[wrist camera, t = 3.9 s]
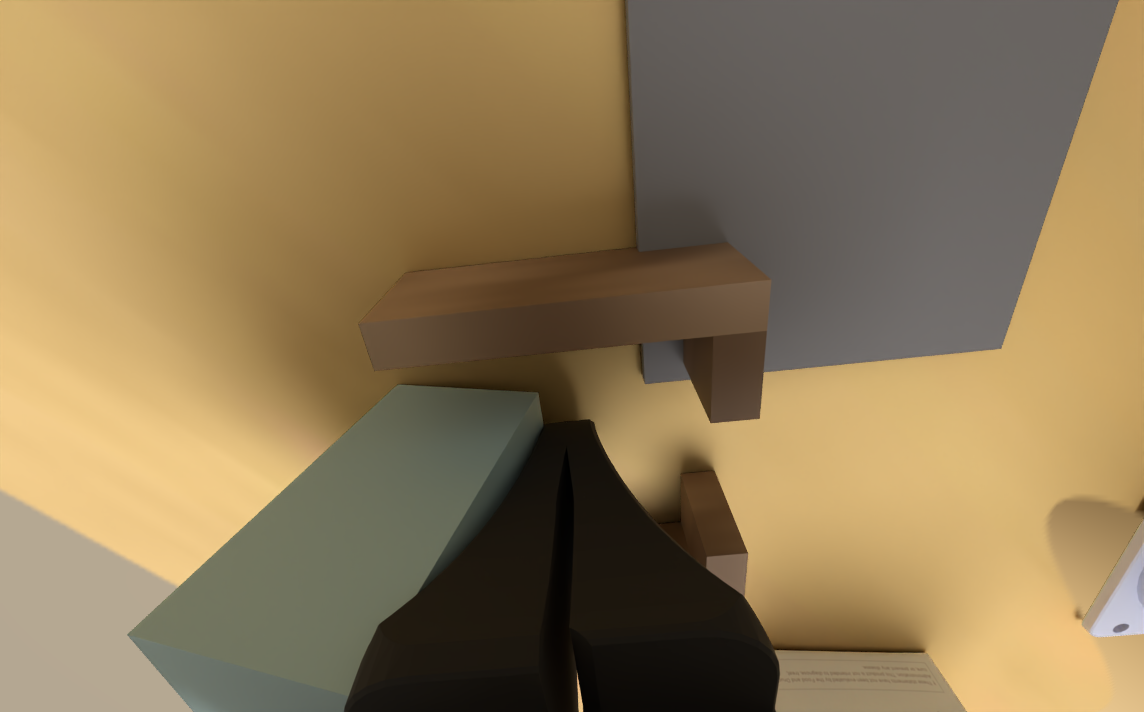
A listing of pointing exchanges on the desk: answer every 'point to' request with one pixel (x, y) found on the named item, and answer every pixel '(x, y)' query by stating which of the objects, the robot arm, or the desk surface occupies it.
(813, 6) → the mat
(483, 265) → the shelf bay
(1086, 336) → the desk surface
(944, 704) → the supplement box
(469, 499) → the block
